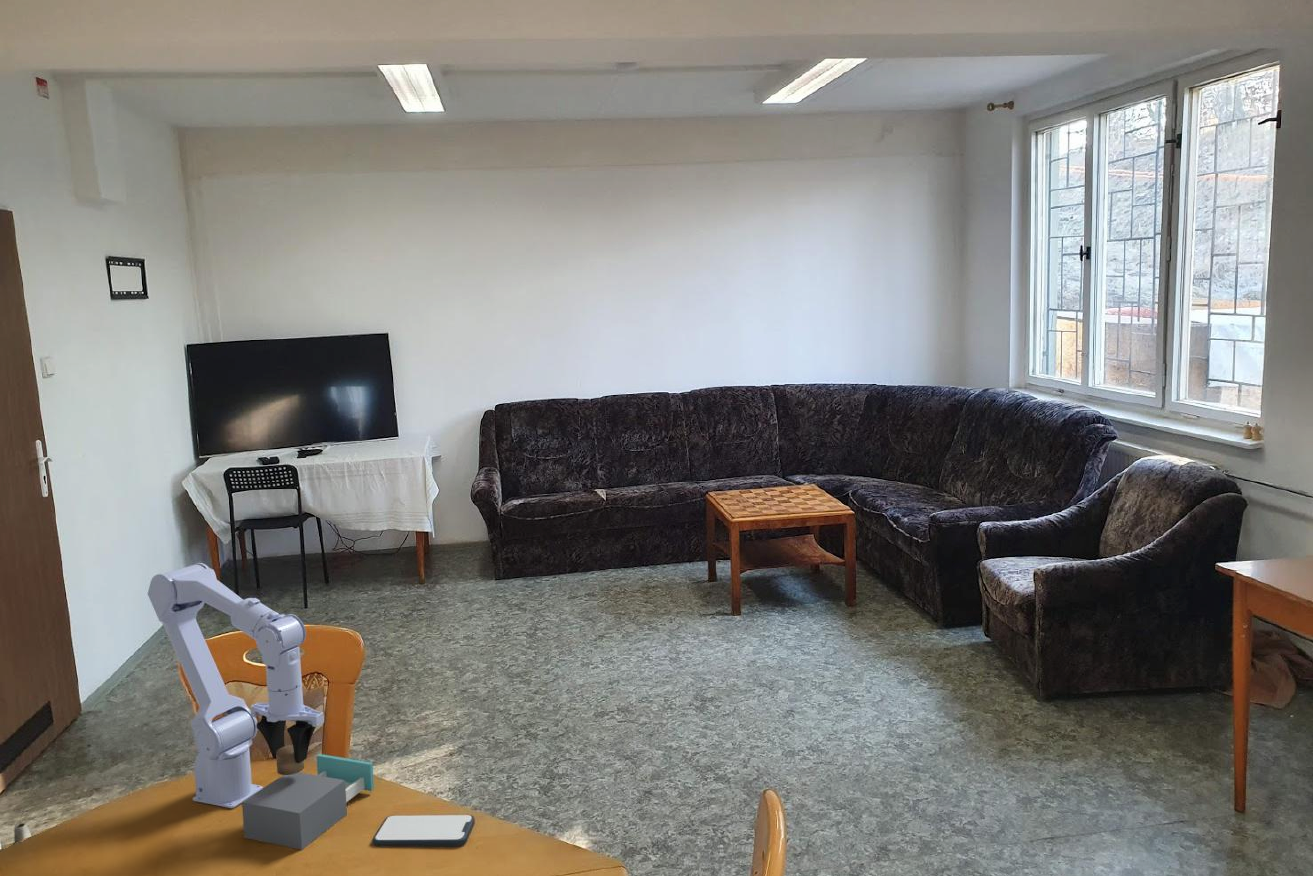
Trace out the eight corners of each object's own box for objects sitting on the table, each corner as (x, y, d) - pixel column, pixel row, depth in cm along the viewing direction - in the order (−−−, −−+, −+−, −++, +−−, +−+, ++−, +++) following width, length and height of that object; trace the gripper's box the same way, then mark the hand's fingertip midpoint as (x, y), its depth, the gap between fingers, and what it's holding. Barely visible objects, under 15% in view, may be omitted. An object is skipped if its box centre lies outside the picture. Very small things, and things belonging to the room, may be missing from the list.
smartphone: (370, 850, 163) (464, 849, 162) (370, 841, 163) (463, 840, 162) (387, 823, 172) (476, 822, 171) (387, 814, 172) (476, 813, 171)
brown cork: (271, 772, 172) (270, 754, 171) (289, 761, 176) (288, 743, 175) (291, 776, 170) (290, 758, 170) (309, 765, 174) (308, 747, 174)
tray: (320, 779, 185) (319, 754, 184) (374, 789, 181) (372, 762, 180) (278, 809, 174) (276, 782, 173) (333, 820, 170) (332, 792, 169)
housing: (292, 804, 177) (289, 770, 176) (347, 814, 173) (344, 780, 173) (244, 837, 166) (241, 802, 165) (302, 849, 162) (299, 813, 161)
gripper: (235, 689, 170) (241, 762, 171) (302, 699, 165) (307, 774, 166) (264, 674, 176) (269, 745, 178) (329, 684, 171) (334, 756, 173)
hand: (289, 758), depth 173 cm, fingers closed on brown cork, 4 cm apart
